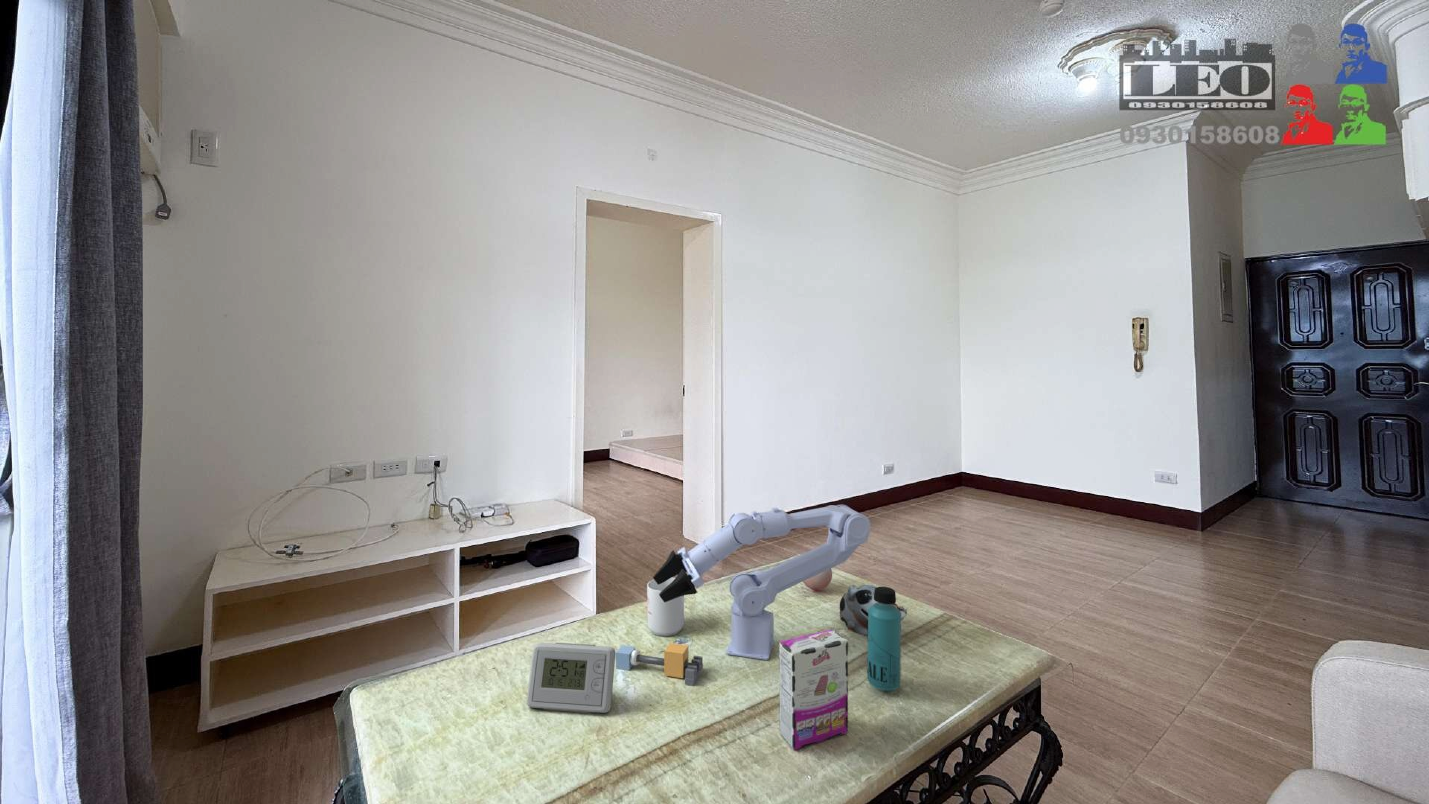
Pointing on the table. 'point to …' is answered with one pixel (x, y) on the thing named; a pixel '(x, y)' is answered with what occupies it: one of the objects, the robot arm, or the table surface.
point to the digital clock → (571, 677)
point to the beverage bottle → (884, 641)
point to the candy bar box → (813, 688)
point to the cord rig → (656, 662)
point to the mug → (663, 610)
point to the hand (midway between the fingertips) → (658, 589)
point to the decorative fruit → (819, 580)
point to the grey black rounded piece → (860, 608)
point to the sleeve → (675, 660)
